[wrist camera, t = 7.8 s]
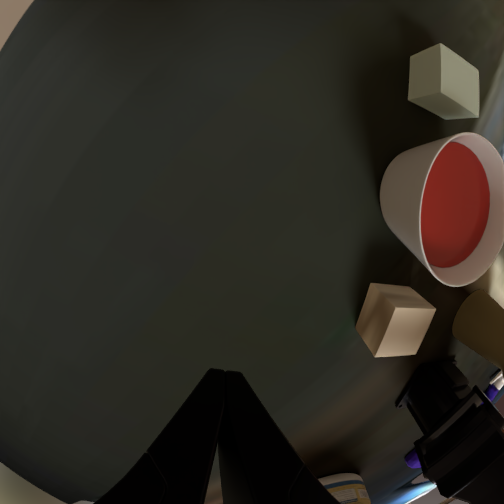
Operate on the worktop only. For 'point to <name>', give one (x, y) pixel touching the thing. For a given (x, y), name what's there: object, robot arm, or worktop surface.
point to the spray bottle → (490, 393)
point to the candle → (448, 205)
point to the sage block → (444, 83)
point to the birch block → (394, 320)
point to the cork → (481, 327)
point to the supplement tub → (346, 488)
